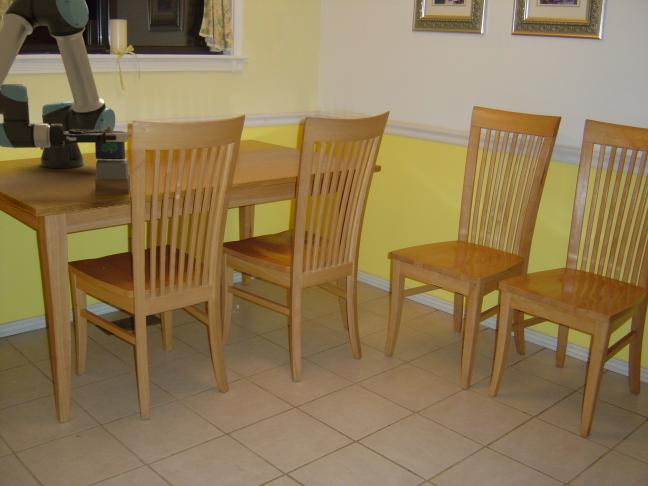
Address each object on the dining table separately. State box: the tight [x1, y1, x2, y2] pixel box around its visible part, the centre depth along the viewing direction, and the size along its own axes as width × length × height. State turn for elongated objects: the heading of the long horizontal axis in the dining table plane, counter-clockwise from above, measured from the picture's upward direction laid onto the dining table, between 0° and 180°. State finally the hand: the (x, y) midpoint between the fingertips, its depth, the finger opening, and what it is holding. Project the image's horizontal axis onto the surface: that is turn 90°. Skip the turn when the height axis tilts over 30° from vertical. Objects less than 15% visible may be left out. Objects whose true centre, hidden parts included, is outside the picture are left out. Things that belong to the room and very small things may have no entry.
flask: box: [94, 126, 126, 160], centre depth 241 cm, size 9×3×11 cm, turn 98°
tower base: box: [94, 172, 131, 195], centre depth 245 cm, size 10×10×5 cm
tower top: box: [95, 157, 129, 179], centre depth 243 cm, size 9×9×5 cm
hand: (127, 136), depth 242 cm, fingers open, 3 cm apart
